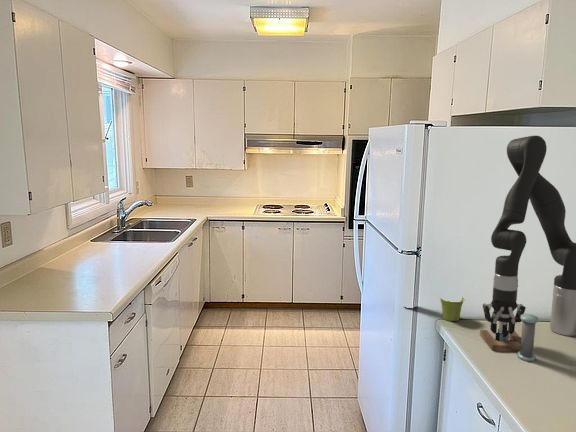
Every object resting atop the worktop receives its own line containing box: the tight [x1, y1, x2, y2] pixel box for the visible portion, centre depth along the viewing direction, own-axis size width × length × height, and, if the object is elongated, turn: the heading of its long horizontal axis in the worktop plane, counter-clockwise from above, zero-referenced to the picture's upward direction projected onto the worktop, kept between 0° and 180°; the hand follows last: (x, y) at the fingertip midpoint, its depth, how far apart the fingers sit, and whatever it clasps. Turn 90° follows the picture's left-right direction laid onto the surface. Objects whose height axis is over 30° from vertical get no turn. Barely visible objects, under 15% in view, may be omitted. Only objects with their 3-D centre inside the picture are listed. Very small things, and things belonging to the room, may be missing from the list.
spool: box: [517, 313, 539, 363], centre depth 140 cm, size 5×5×14 cm
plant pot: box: [438, 296, 465, 322], centre depth 172 cm, size 9×9×9 cm
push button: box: [494, 314, 513, 342], centre depth 152 cm, size 7×5×10 cm
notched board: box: [479, 329, 521, 352], centre depth 151 cm, size 12×12×2 cm
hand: (502, 332), depth 152 cm, fingers closed on push button, 5 cm apart
